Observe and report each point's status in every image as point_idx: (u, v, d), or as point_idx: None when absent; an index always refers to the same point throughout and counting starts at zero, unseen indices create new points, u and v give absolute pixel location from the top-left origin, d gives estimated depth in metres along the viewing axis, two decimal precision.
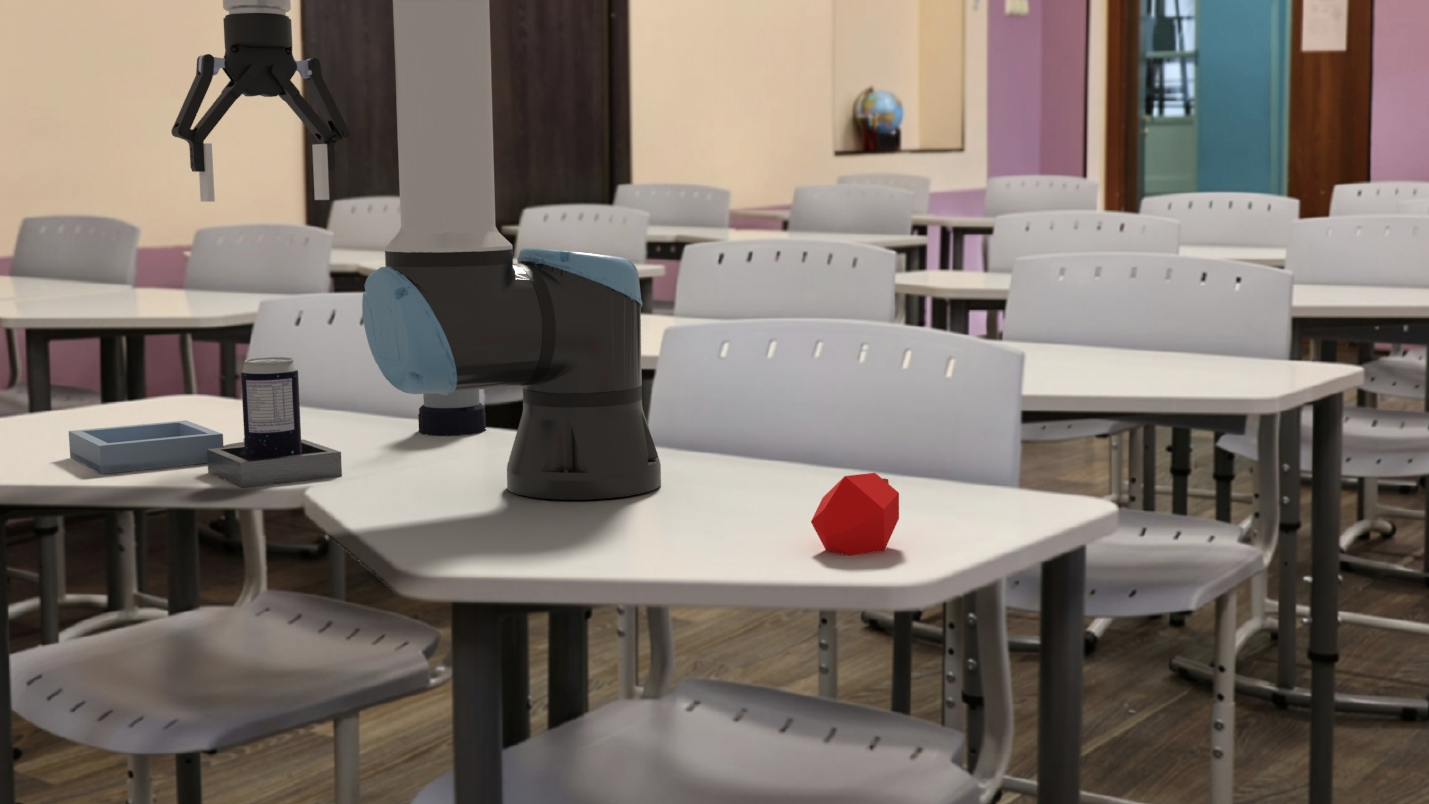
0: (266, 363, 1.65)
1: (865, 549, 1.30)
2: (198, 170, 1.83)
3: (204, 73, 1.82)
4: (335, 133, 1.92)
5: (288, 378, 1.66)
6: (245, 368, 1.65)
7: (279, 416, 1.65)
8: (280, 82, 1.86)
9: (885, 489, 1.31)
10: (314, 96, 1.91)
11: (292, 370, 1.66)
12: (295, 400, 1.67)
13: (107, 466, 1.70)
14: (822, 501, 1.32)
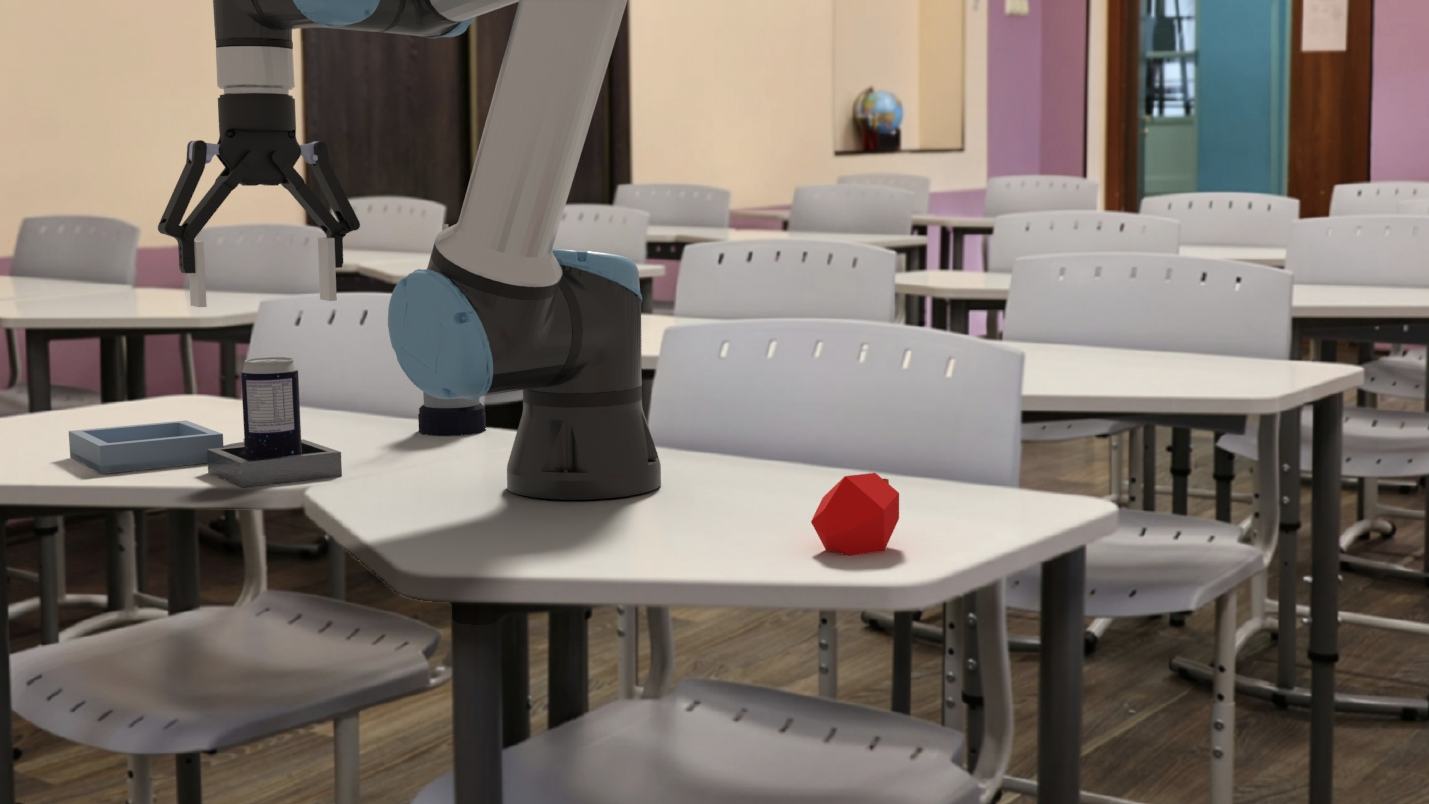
0: (266, 363, 1.65)
1: (865, 549, 1.30)
2: (188, 272, 1.61)
3: (195, 162, 1.59)
4: (344, 225, 1.69)
5: (288, 378, 1.66)
6: (245, 368, 1.65)
7: (279, 416, 1.65)
8: (282, 170, 1.64)
9: (885, 489, 1.31)
10: (320, 183, 1.69)
11: (293, 370, 1.66)
12: (295, 400, 1.67)
13: (107, 466, 1.70)
14: (822, 501, 1.32)
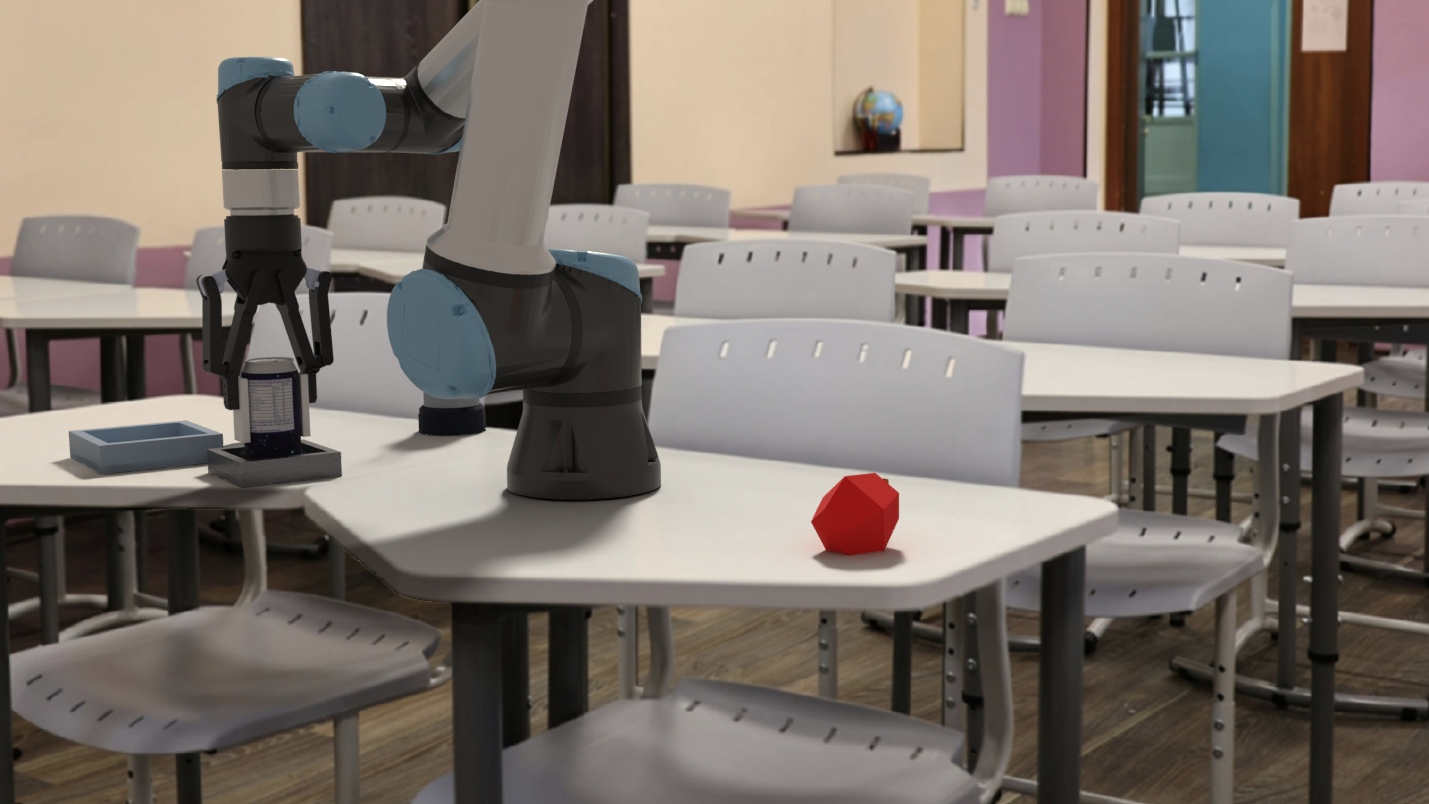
0: (266, 363, 1.65)
1: (865, 549, 1.30)
2: (232, 408, 1.65)
3: (211, 298, 1.62)
4: (317, 356, 1.69)
5: (288, 378, 1.66)
6: (245, 368, 1.65)
7: (279, 416, 1.65)
8: (282, 290, 1.65)
9: (885, 489, 1.31)
10: (311, 311, 1.70)
11: (293, 370, 1.66)
12: (295, 400, 1.67)
13: (107, 466, 1.70)
14: (822, 501, 1.32)
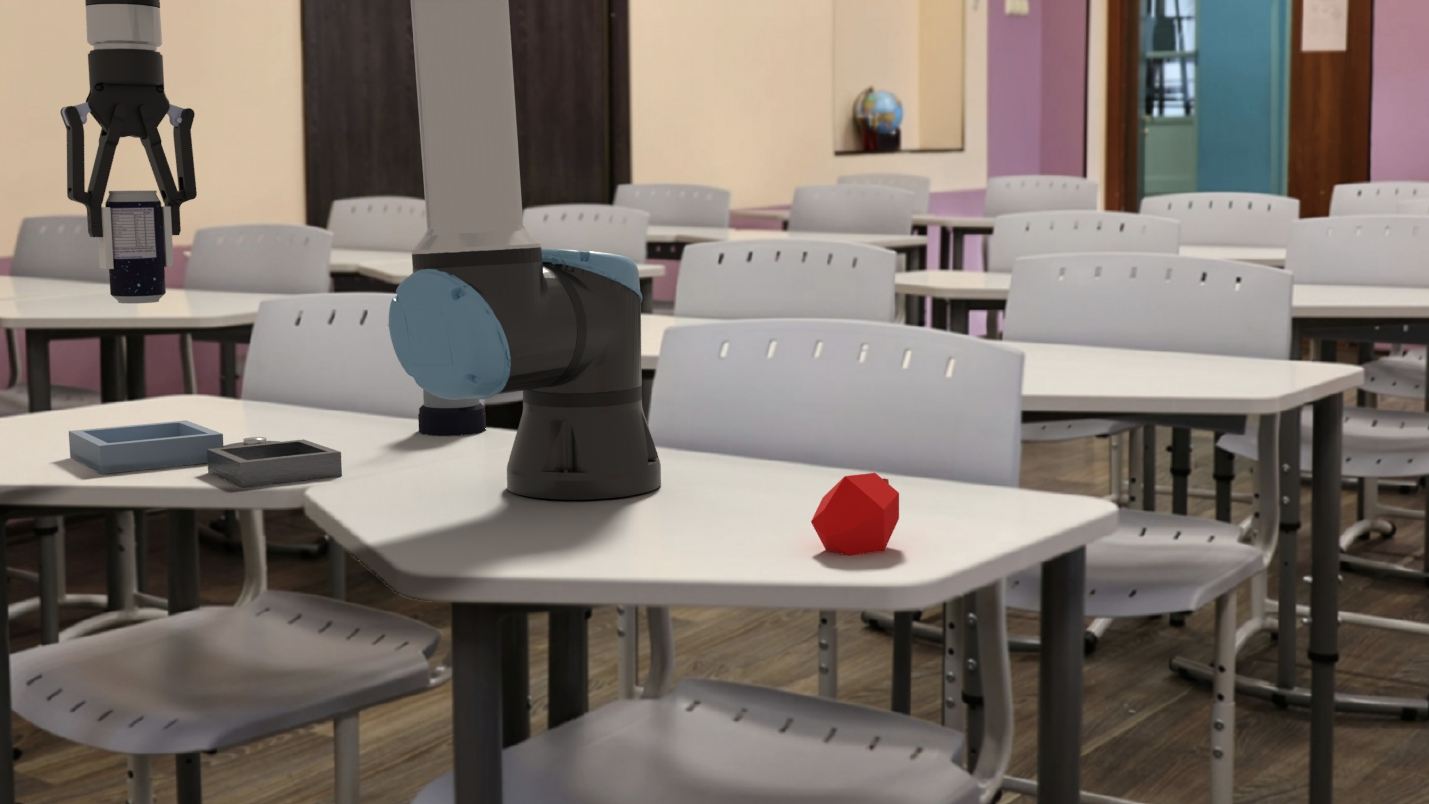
0: (128, 192, 1.72)
1: (865, 549, 1.30)
2: (96, 236, 1.72)
3: (73, 127, 1.69)
4: (181, 191, 1.77)
5: (150, 208, 1.73)
6: (109, 197, 1.73)
7: (141, 243, 1.73)
8: (144, 123, 1.73)
9: (885, 489, 1.31)
10: (175, 147, 1.77)
11: (155, 200, 1.74)
12: (157, 229, 1.74)
13: (107, 466, 1.70)
14: (822, 501, 1.32)
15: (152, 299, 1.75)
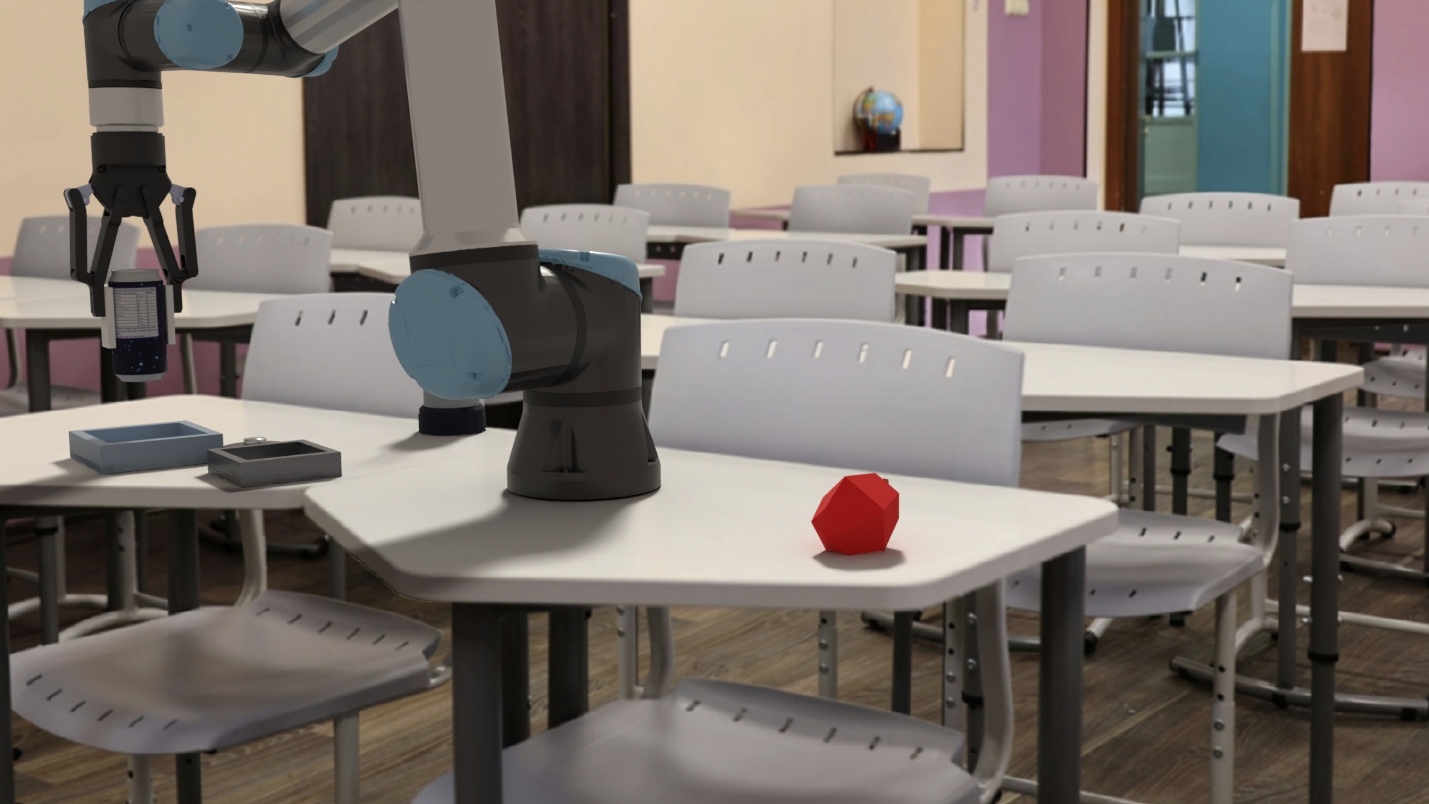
0: (130, 272, 1.74)
1: (865, 549, 1.30)
2: (98, 315, 1.74)
3: (76, 209, 1.71)
4: (183, 269, 1.78)
5: (152, 287, 1.75)
6: (111, 277, 1.74)
7: (143, 323, 1.74)
8: (147, 203, 1.74)
9: (885, 489, 1.31)
10: (177, 225, 1.79)
11: (157, 279, 1.75)
12: (159, 308, 1.76)
13: (107, 466, 1.70)
14: (822, 501, 1.32)
15: (154, 377, 1.76)
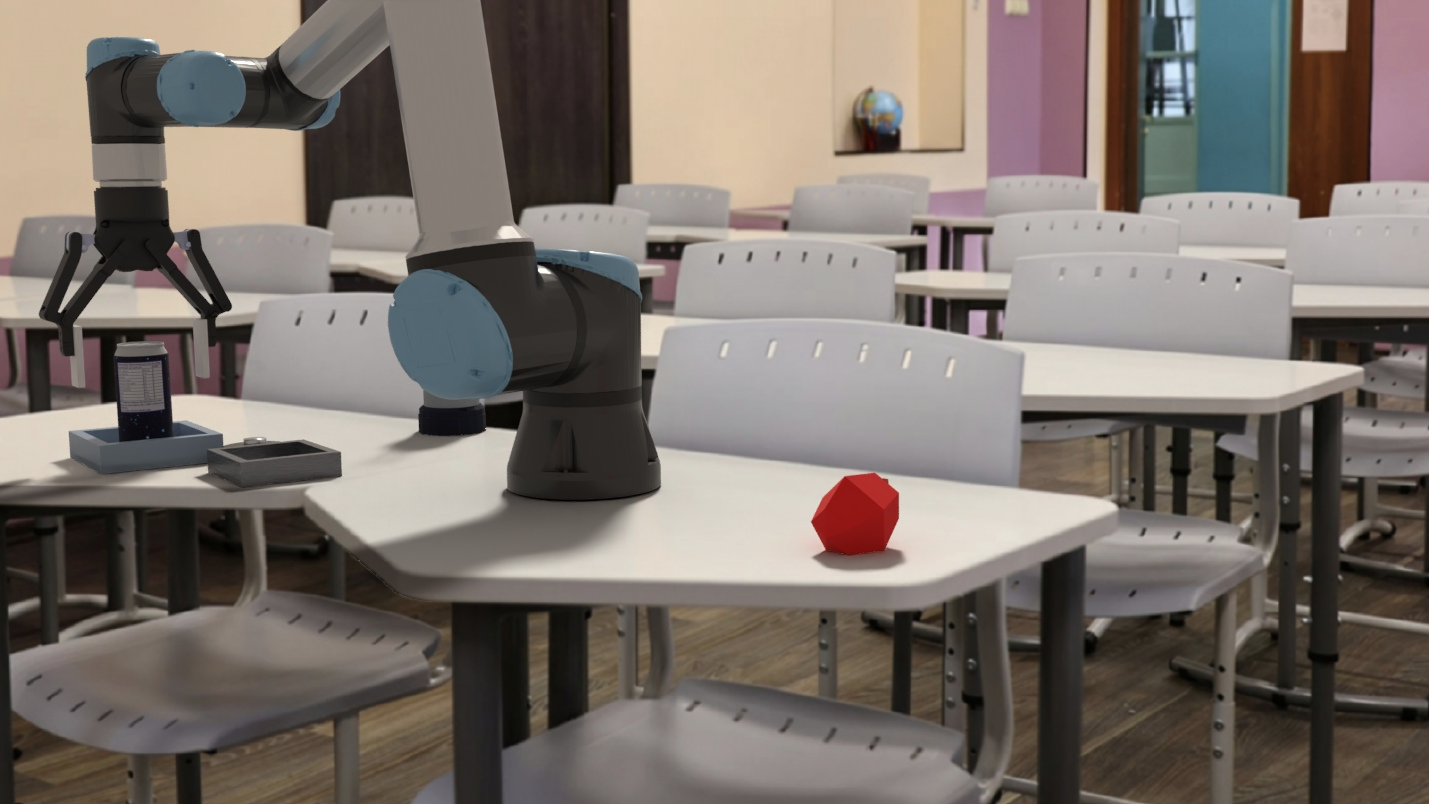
0: (136, 346, 1.75)
1: (865, 549, 1.30)
2: (67, 355, 1.72)
3: (71, 252, 1.71)
4: (216, 307, 1.81)
5: (158, 361, 1.76)
6: (117, 351, 1.75)
7: (149, 397, 1.75)
8: (155, 257, 1.75)
9: (885, 489, 1.31)
10: (194, 267, 1.80)
11: (162, 353, 1.76)
12: (165, 381, 1.77)
13: (107, 466, 1.70)
14: (822, 501, 1.32)
15: None
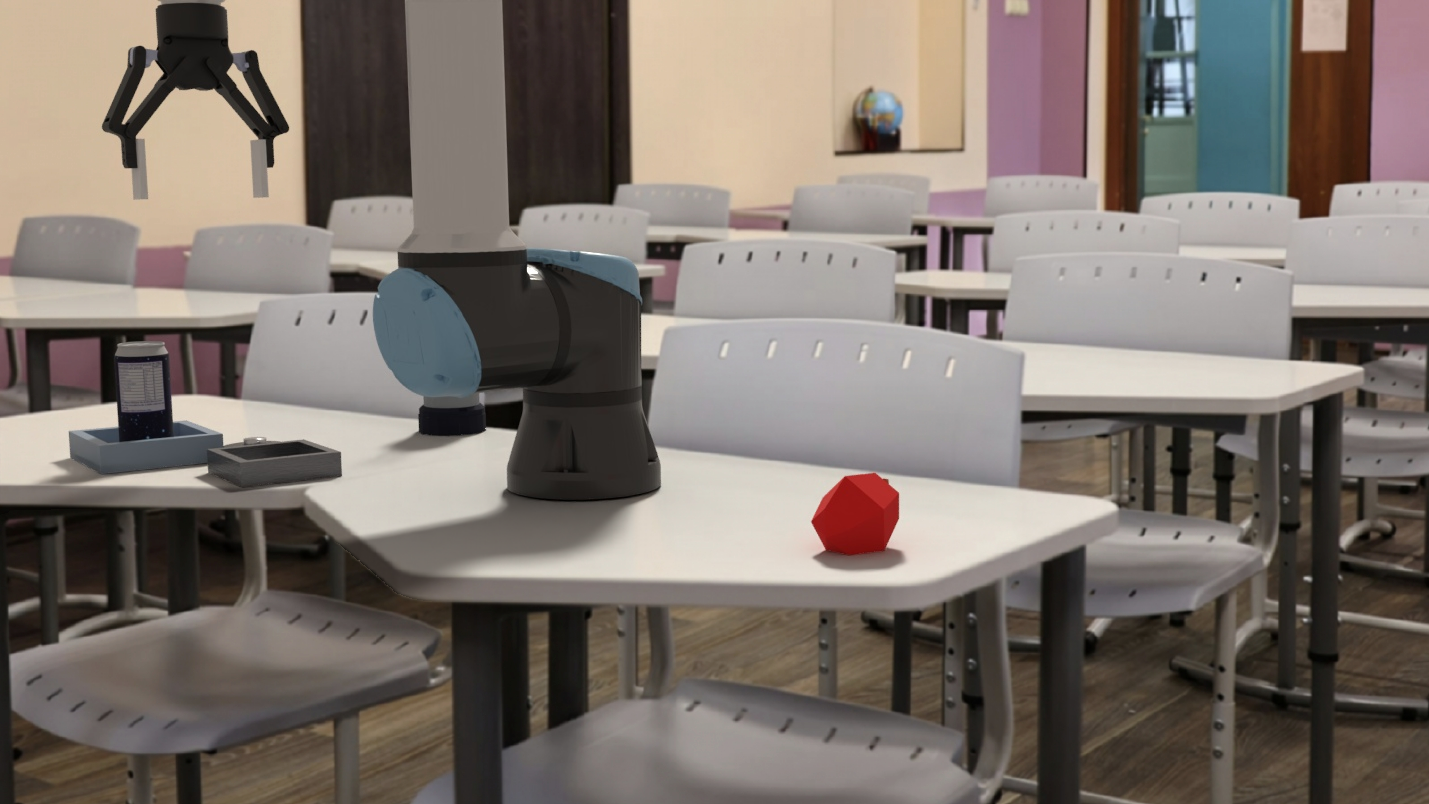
0: (137, 346, 1.74)
1: (865, 549, 1.30)
2: (130, 166, 1.75)
3: (136, 65, 1.74)
4: (274, 128, 1.85)
5: (158, 361, 1.76)
6: (117, 351, 1.75)
7: (150, 397, 1.75)
8: (216, 75, 1.79)
9: (885, 489, 1.31)
10: (252, 90, 1.84)
11: (163, 353, 1.76)
12: (165, 381, 1.77)
13: (107, 466, 1.70)
14: (822, 501, 1.32)
15: None
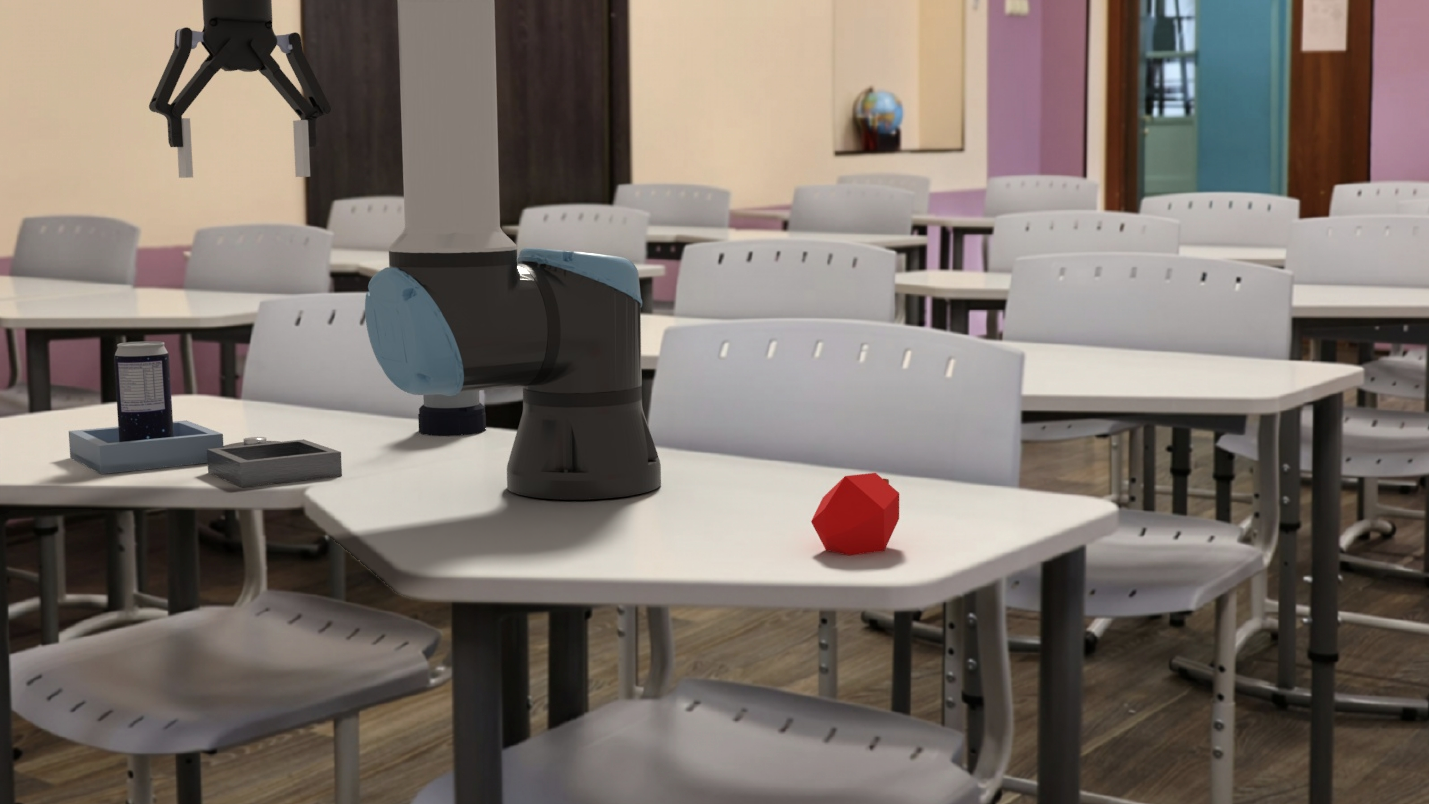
0: (137, 346, 1.75)
1: (865, 549, 1.30)
2: (176, 145, 1.80)
3: (182, 47, 1.79)
4: (316, 109, 1.89)
5: (158, 361, 1.76)
6: (117, 351, 1.76)
7: (150, 396, 1.75)
8: (260, 56, 1.83)
9: (885, 489, 1.31)
10: (295, 71, 1.88)
11: (163, 353, 1.76)
12: (165, 381, 1.77)
13: (107, 466, 1.70)
14: (822, 501, 1.32)
15: None
